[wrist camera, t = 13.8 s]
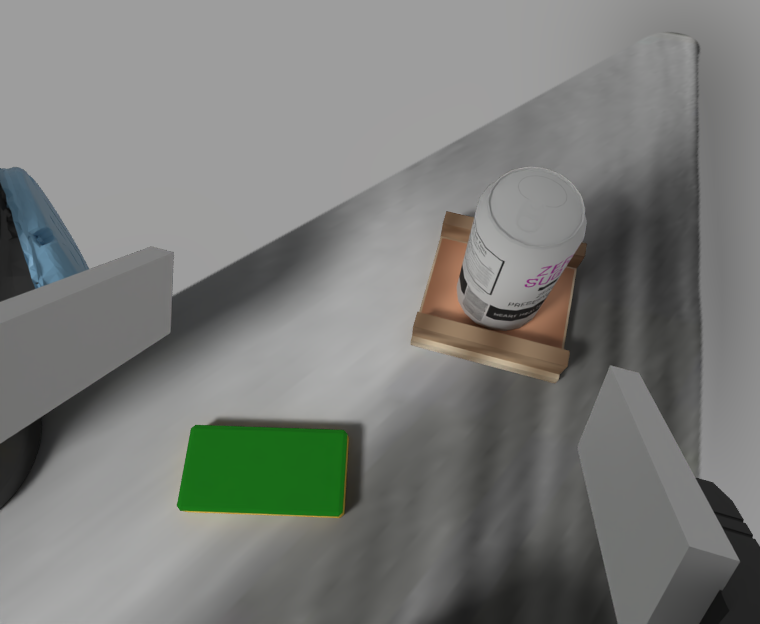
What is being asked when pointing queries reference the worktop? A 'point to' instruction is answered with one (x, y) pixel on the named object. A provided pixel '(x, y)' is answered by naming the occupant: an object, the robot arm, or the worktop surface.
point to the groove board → (479, 344)
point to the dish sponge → (265, 471)
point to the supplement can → (519, 246)
